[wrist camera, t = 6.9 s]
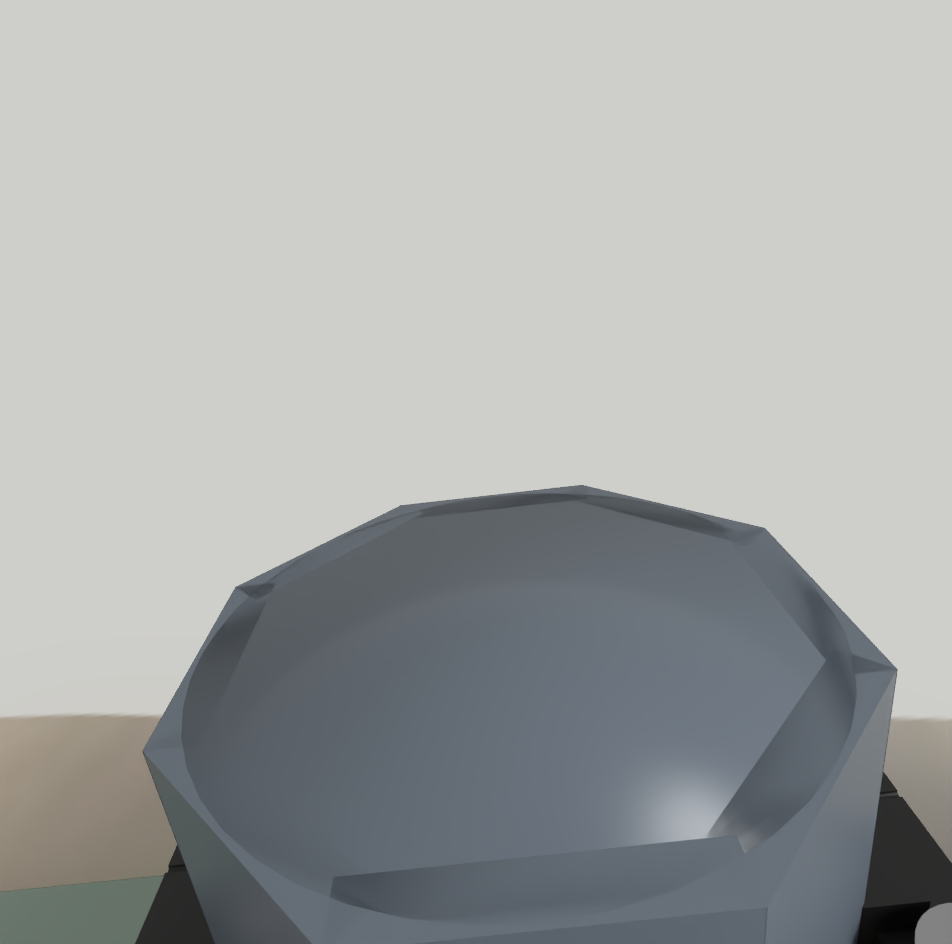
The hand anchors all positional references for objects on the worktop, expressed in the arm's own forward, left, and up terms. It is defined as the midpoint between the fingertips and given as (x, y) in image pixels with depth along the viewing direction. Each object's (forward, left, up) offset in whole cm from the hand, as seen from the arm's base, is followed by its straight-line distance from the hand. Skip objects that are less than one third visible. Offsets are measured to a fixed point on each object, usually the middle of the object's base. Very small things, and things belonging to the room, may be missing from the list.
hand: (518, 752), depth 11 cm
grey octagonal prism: (0, +2, -6) cm, 6 cm away
